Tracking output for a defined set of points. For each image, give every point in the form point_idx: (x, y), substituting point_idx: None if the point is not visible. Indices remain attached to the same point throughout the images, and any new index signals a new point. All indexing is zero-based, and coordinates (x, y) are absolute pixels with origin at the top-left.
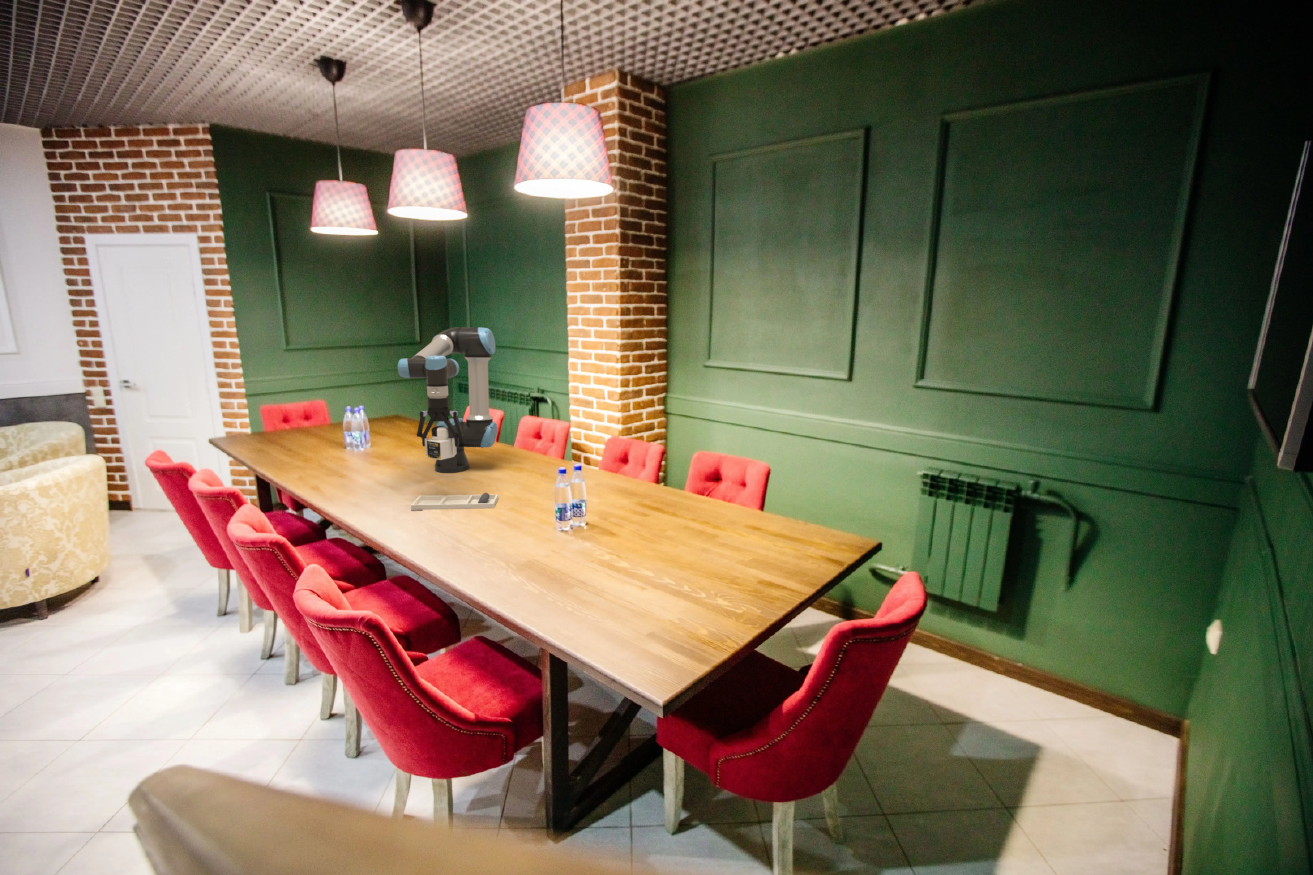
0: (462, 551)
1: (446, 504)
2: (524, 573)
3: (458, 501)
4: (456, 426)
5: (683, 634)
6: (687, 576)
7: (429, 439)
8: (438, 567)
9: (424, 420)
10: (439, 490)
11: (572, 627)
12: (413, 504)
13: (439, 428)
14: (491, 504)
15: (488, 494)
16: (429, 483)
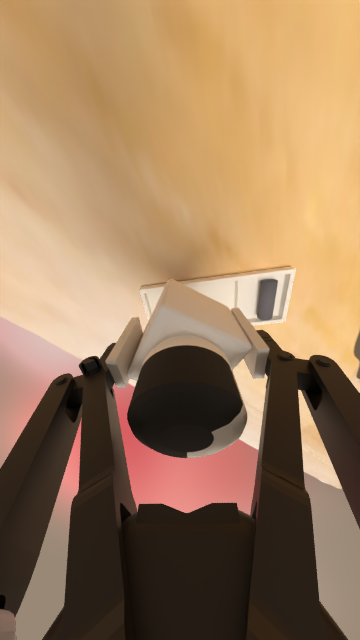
0: (251, 416)
1: None
2: (302, 438)
3: (215, 290)
4: (334, 456)
5: None
6: None
7: (137, 378)
8: None
9: (17, 510)
10: (145, 205)
11: (320, 469)
12: None
13: (200, 456)
14: (280, 321)
15: (277, 283)
16: (82, 125)
